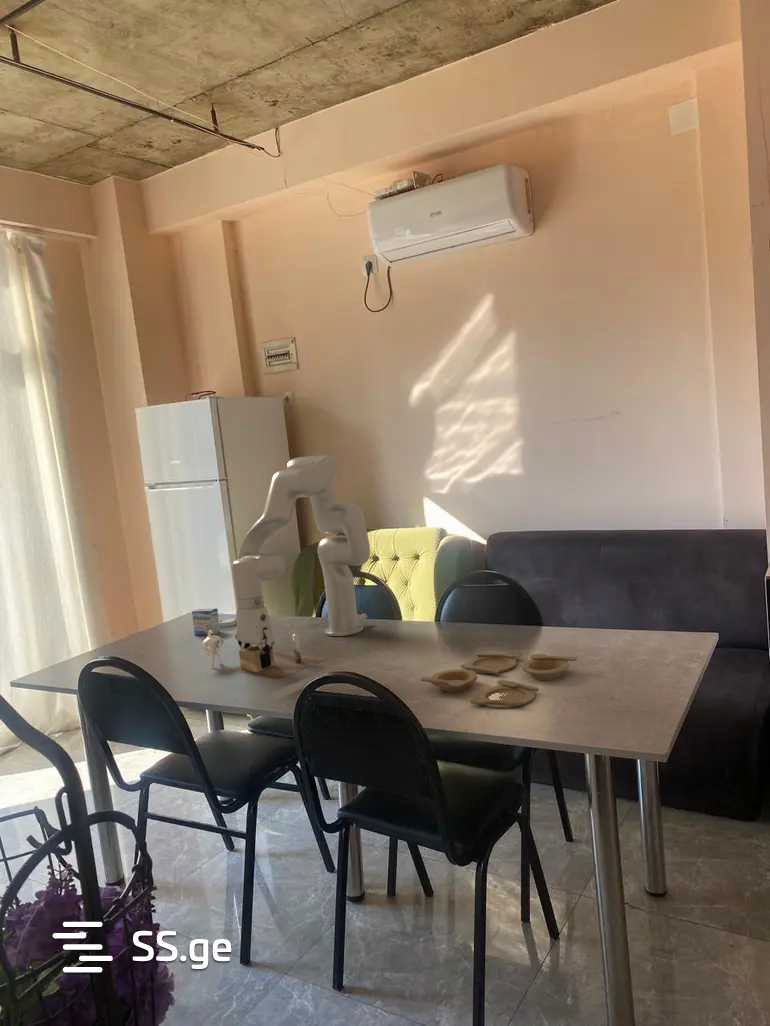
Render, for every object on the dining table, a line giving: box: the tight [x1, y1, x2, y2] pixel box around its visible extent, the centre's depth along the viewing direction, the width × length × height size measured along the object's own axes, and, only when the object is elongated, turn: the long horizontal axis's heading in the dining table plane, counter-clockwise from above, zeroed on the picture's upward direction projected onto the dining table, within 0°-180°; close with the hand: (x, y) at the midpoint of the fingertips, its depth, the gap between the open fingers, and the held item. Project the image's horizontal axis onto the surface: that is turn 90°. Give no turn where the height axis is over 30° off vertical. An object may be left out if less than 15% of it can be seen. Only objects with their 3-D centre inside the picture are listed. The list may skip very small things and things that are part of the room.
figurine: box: [201, 630, 225, 669], centre depth 217 cm, size 7×4×12 cm, turn 138°
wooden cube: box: [238, 644, 275, 672], centre depth 211 cm, size 7×7×6 cm
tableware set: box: [420, 652, 578, 709], centre depth 184 cm, size 35×29×4 cm
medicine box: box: [191, 608, 221, 636], centre depth 264 cm, size 8×4×9 cm, turn 73°
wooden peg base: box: [230, 633, 326, 680], centre depth 212 cm, size 18×20×10 cm
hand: (257, 664), depth 211 cm, fingers closed on wooden cube, 6 cm apart
